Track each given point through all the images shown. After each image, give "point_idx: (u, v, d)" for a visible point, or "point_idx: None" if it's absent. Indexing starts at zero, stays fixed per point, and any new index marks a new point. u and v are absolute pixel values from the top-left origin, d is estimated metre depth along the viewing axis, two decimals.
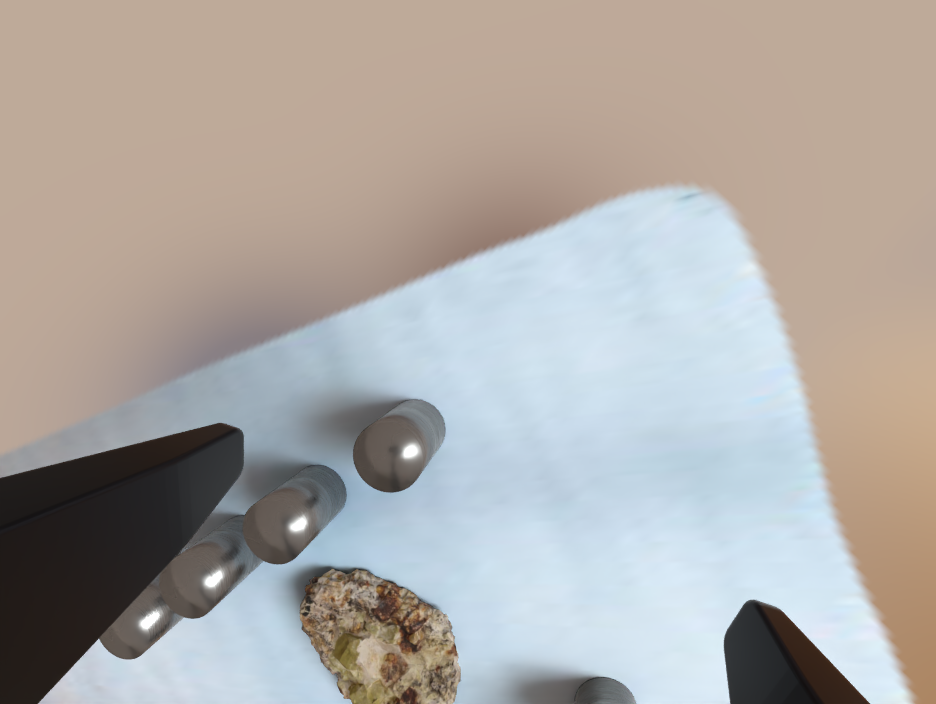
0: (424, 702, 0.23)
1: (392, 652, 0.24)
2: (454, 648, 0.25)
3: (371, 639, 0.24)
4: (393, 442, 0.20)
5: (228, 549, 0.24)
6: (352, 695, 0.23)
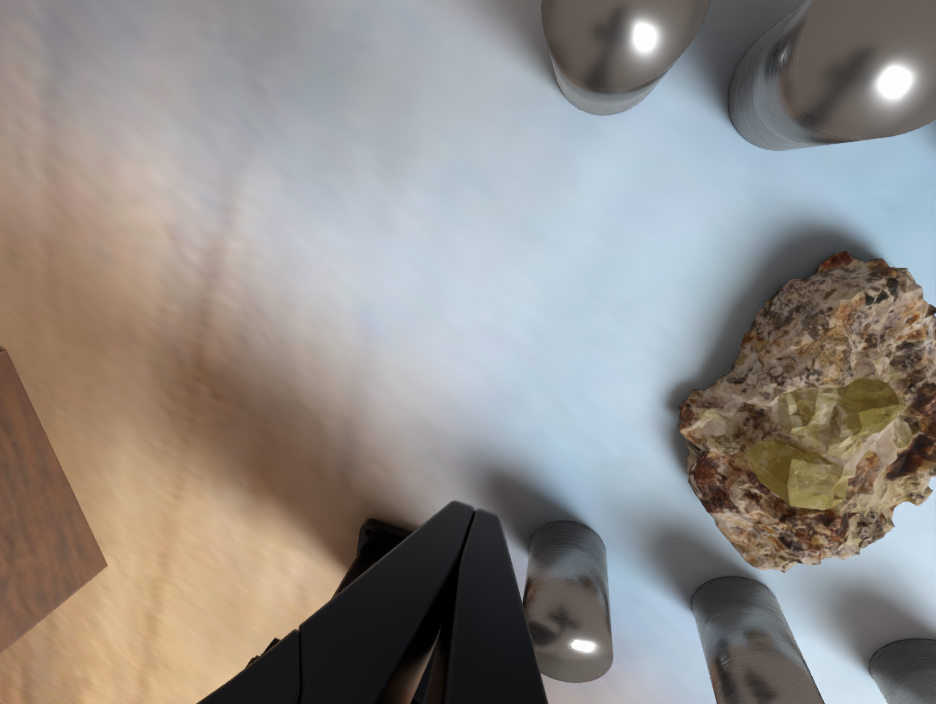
0: None
1: (877, 456, 0.13)
2: None
3: (893, 421, 0.13)
4: None
5: None
6: (799, 462, 0.13)
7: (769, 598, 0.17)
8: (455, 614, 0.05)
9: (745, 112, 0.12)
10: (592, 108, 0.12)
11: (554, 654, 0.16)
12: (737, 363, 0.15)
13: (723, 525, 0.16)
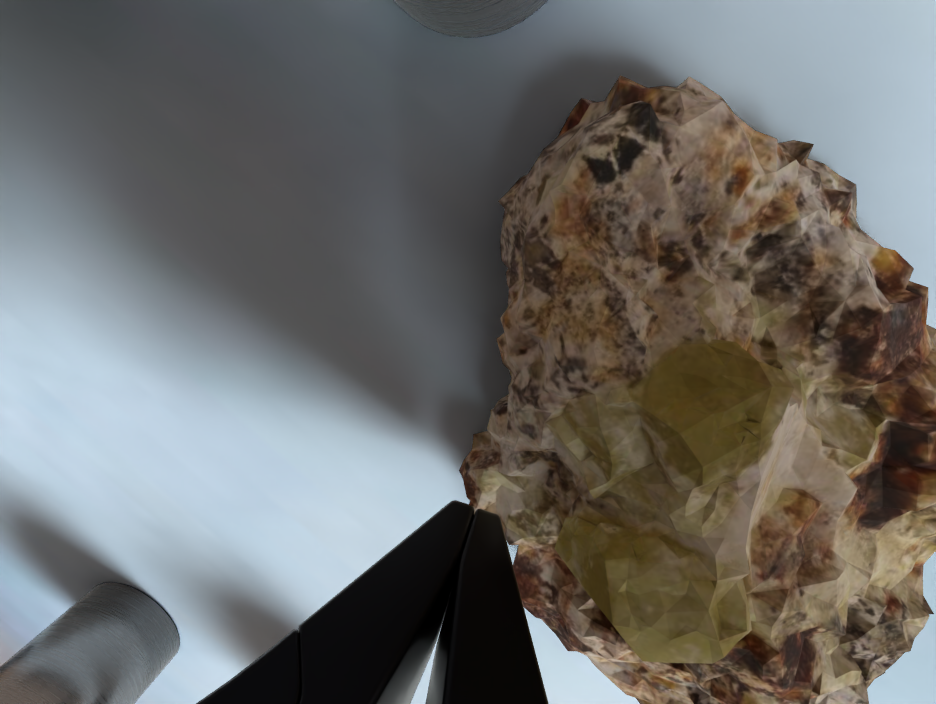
0: (822, 685, 0.06)
1: (814, 496, 0.06)
2: None
3: (802, 417, 0.05)
4: None
5: None
6: (621, 565, 0.06)
7: (125, 612, 0.13)
8: (455, 614, 0.05)
9: None
10: None
11: None
12: (511, 371, 0.08)
13: (602, 670, 0.08)
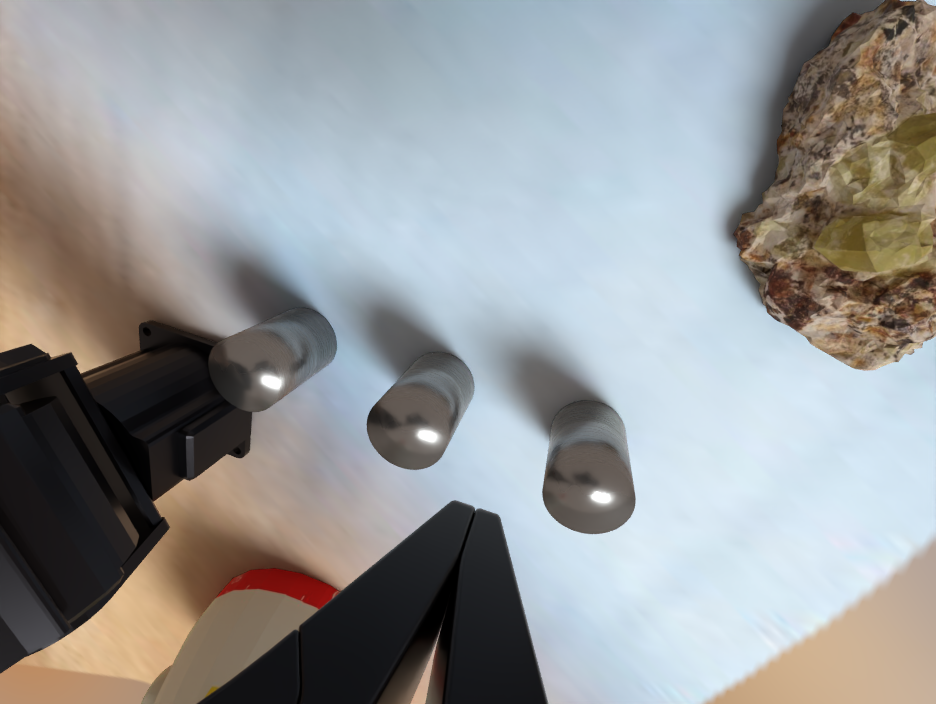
0: None
1: None
2: None
3: None
4: None
5: None
6: (871, 224, 0.13)
7: (454, 363, 0.20)
8: (455, 614, 0.05)
9: None
10: None
11: (237, 382, 0.18)
12: (779, 168, 0.15)
13: (817, 336, 0.15)
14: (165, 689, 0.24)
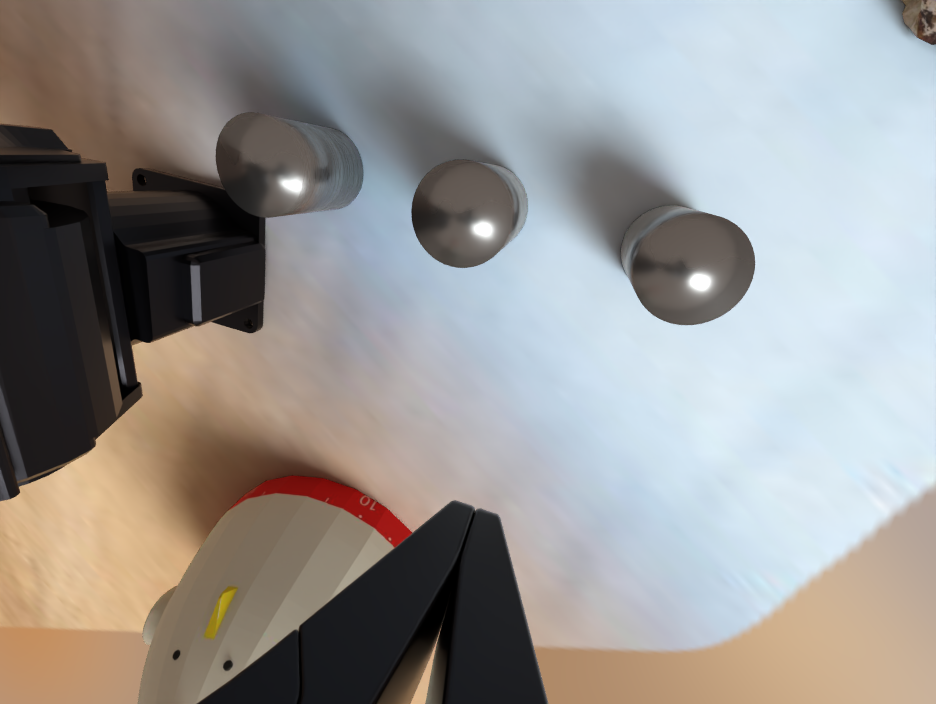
0: None
1: None
2: None
3: None
4: None
5: None
6: None
7: (506, 169, 0.17)
8: (455, 614, 0.05)
9: None
10: None
11: (252, 177, 0.15)
12: None
13: None
14: (173, 598, 0.21)
